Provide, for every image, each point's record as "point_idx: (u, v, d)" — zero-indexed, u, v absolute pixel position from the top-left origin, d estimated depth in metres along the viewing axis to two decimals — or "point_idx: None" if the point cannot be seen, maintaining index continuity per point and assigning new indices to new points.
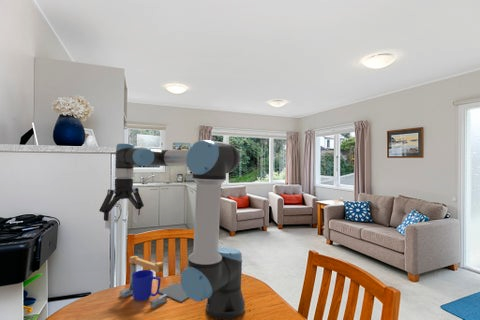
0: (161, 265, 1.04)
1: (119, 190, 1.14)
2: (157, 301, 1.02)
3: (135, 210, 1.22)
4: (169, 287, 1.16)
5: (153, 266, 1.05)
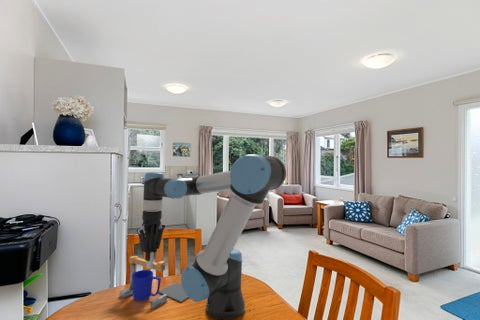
0: (163, 264, 1.05)
1: (147, 224, 1.03)
2: (157, 301, 1.02)
3: None
4: (169, 287, 1.16)
5: (155, 265, 1.05)
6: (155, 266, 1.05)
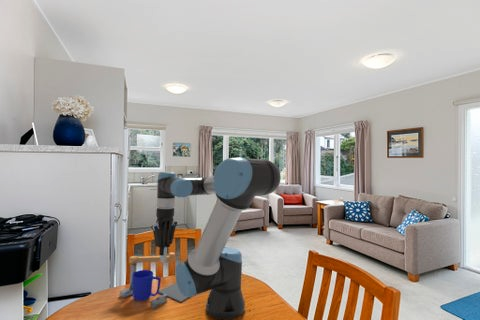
0: None
1: (161, 221, 1.10)
2: (157, 301, 1.02)
3: None
4: (169, 287, 1.16)
5: None
6: None
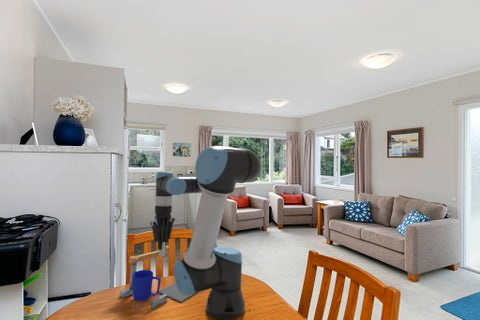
0: None
1: (159, 217, 1.17)
2: (157, 301, 1.02)
3: None
4: (169, 287, 1.16)
5: None
6: None
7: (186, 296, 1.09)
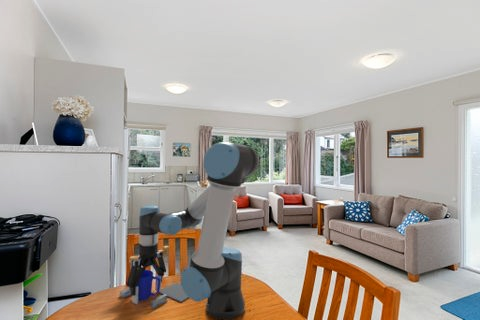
0: None
1: (144, 258, 1.05)
2: (157, 301, 1.02)
3: None
4: (169, 287, 1.16)
5: (162, 251, 1.22)
6: None
7: (186, 296, 1.09)
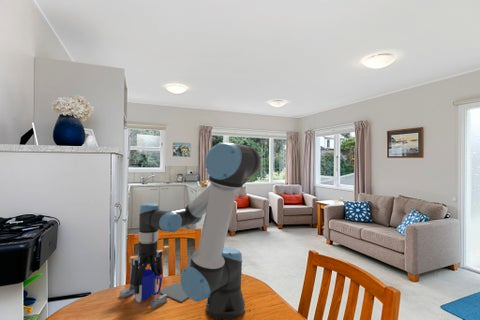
0: None
1: (143, 256, 1.05)
2: (157, 301, 1.02)
3: None
4: (169, 287, 1.16)
5: (162, 251, 1.22)
6: (162, 252, 1.22)
7: (186, 296, 1.09)
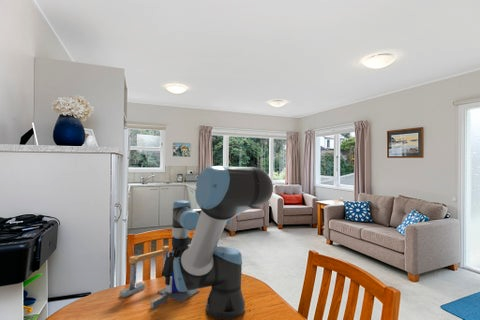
0: None
1: (177, 250, 1.11)
2: (157, 301, 1.02)
3: None
4: None
5: (162, 251, 1.22)
6: (162, 252, 1.22)
7: (186, 296, 1.09)
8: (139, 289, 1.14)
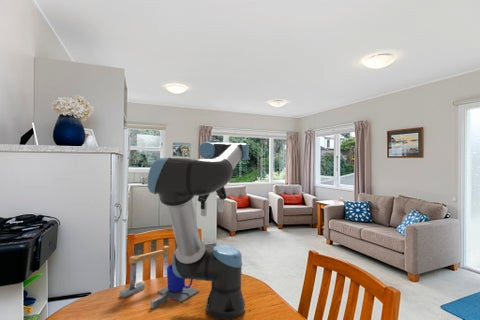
0: None
1: None
2: (157, 301, 1.02)
3: (220, 200, 1.35)
4: None
5: (162, 251, 1.22)
6: (162, 252, 1.22)
7: (186, 296, 1.09)
8: (139, 289, 1.14)
